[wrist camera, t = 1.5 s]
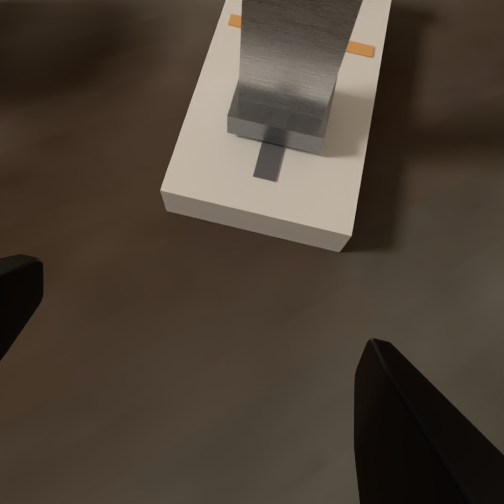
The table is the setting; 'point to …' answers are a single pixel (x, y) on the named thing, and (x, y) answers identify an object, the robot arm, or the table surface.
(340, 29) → the fader
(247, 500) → the table surface
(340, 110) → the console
